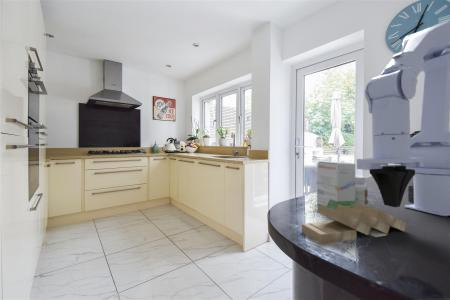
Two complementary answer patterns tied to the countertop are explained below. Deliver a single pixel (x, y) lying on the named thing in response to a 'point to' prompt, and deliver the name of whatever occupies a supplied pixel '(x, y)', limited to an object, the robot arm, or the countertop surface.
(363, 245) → the countertop surface
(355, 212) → the tile
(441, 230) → the countertop surface
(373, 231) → the plate
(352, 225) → the tile
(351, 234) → the tile
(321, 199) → the ink box
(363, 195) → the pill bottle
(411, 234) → the countertop surface
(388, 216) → the tile
